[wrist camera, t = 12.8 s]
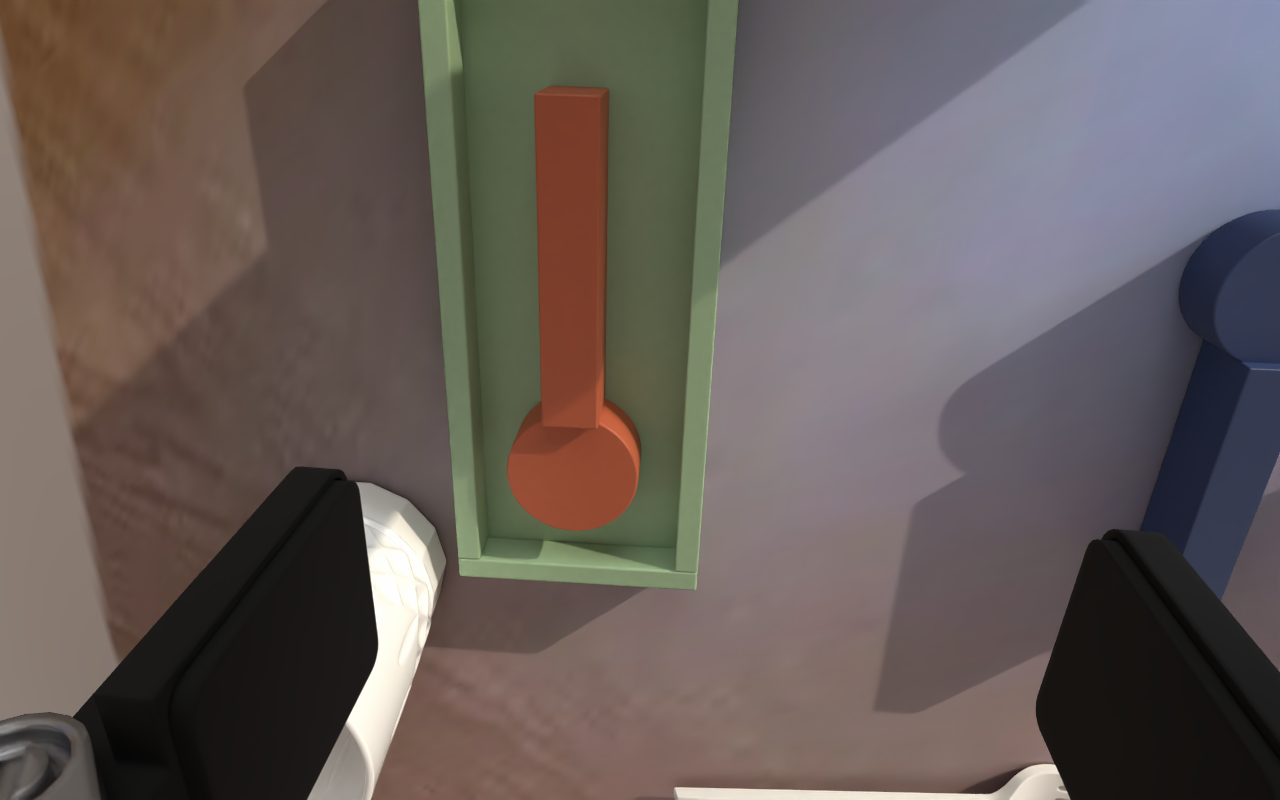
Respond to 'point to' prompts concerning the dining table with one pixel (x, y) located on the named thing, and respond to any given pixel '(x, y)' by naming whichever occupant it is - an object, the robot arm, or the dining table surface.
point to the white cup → (386, 639)
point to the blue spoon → (1225, 399)
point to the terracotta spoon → (573, 328)
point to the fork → (1027, 796)
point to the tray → (636, 261)
